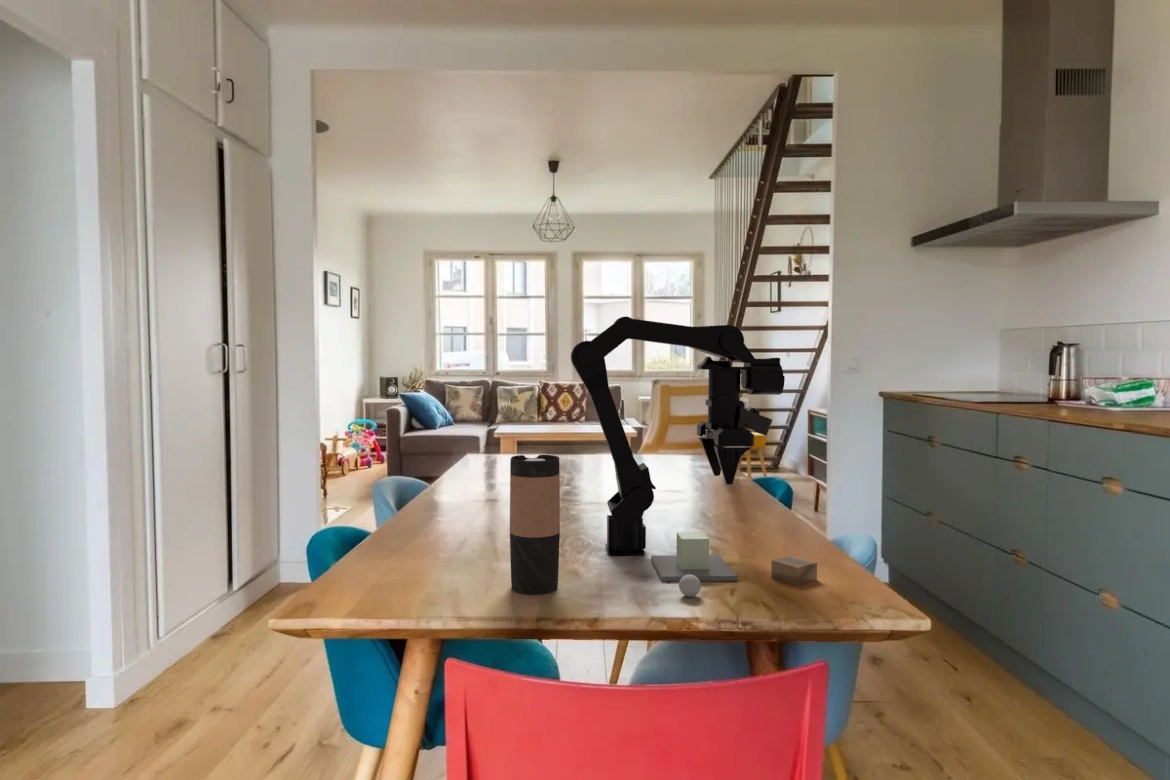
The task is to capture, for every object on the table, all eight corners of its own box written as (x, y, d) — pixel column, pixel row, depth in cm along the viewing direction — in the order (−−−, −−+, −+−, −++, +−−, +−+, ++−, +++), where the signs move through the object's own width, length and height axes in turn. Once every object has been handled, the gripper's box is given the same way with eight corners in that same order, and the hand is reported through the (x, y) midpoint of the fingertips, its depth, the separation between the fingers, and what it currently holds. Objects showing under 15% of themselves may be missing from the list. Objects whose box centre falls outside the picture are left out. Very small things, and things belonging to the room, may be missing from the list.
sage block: (681, 569, 116) (681, 539, 116) (676, 561, 121) (676, 532, 121) (708, 569, 117) (709, 538, 116) (702, 561, 121) (703, 532, 121)
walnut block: (797, 586, 111) (797, 567, 111) (771, 578, 115) (771, 560, 115) (816, 581, 114) (817, 562, 114) (791, 573, 118) (791, 555, 118)
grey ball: (681, 600, 104) (681, 578, 104) (677, 592, 107) (677, 571, 107) (702, 599, 104) (703, 578, 104) (698, 592, 107) (698, 571, 107)
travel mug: (540, 598, 104) (540, 462, 103) (499, 589, 108) (499, 458, 107) (569, 584, 111) (569, 456, 110) (529, 576, 115) (529, 452, 114)
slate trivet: (662, 581, 113) (662, 576, 113) (651, 560, 125) (651, 555, 124) (737, 580, 113) (737, 575, 113) (719, 559, 125) (719, 554, 125)
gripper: (784, 397, 121) (783, 489, 122) (753, 392, 140) (751, 471, 140) (719, 397, 120) (718, 489, 121) (696, 392, 139) (695, 471, 140)
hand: (722, 479), depth 131 cm, fingers open, 9 cm apart
